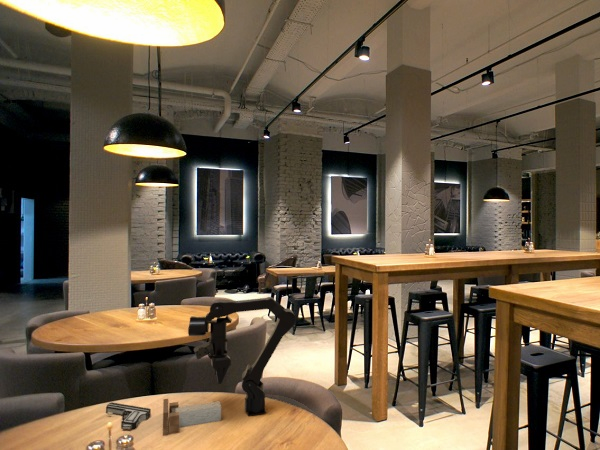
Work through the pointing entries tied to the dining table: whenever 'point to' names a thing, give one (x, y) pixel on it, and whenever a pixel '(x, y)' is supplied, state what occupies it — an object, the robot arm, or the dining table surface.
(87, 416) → the dining table surface
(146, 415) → the handgun
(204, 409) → the rail
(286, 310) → the robot arm
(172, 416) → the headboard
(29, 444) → the dining table surface
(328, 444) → the dining table surface
